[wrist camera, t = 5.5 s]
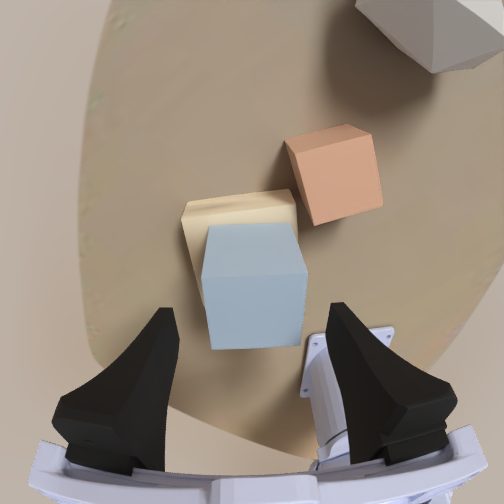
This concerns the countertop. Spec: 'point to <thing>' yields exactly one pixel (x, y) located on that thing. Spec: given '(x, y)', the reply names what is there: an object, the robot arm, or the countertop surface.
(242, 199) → the beech base
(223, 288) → the blue block
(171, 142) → the countertop surface
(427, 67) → the die
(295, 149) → the terracotta block
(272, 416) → the countertop surface
